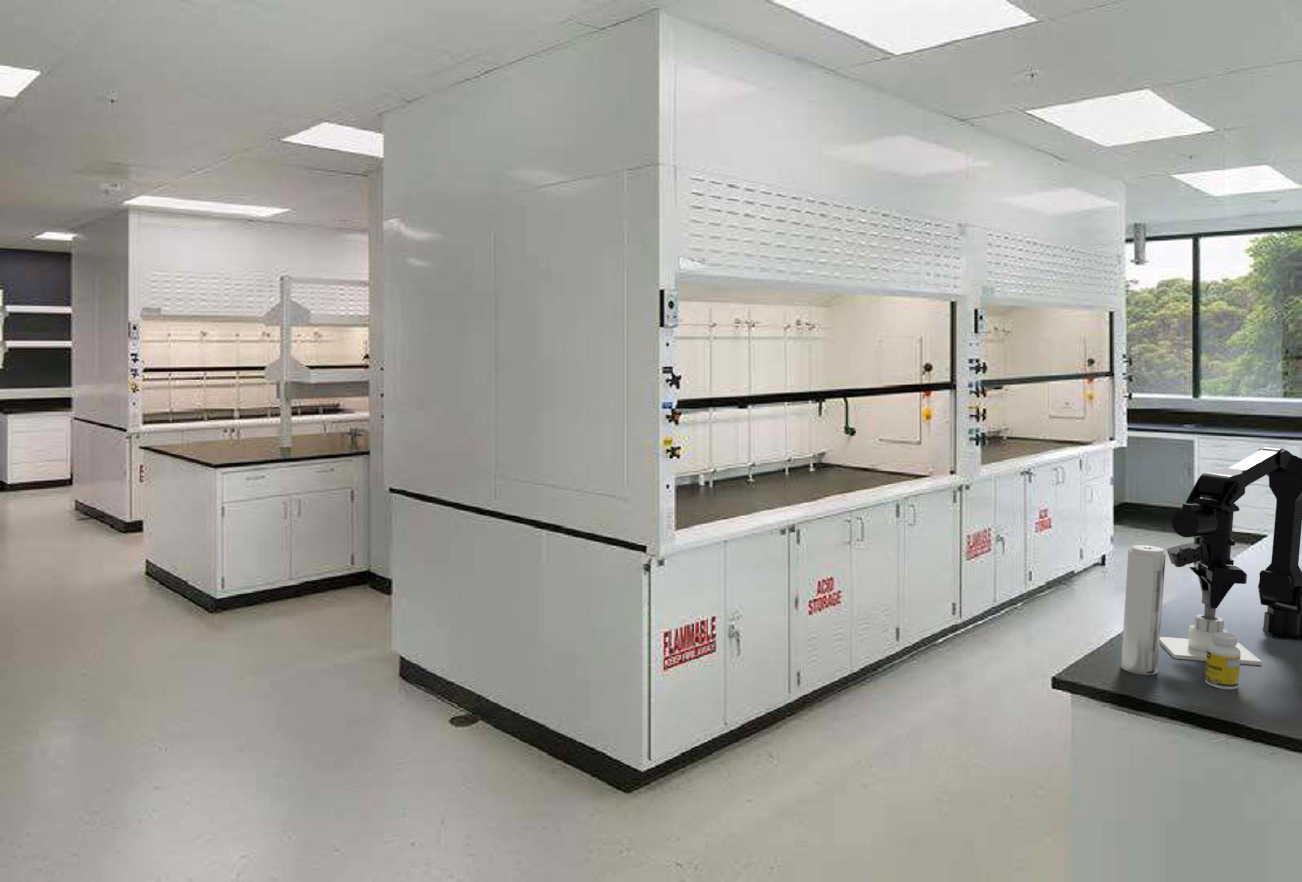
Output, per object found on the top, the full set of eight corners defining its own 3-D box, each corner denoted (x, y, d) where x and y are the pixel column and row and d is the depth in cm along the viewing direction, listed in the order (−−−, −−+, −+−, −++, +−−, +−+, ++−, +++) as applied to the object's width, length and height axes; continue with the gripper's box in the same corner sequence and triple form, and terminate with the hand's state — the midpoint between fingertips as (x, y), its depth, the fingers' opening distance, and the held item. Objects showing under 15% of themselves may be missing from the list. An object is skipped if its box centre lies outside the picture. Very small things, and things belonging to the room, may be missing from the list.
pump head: (1215, 617, 190) (1217, 590, 189) (1220, 621, 187) (1222, 594, 186) (1198, 615, 190) (1200, 589, 190) (1203, 620, 187) (1205, 593, 187)
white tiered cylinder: (1219, 644, 192) (1221, 614, 191) (1232, 655, 185) (1234, 624, 184) (1183, 641, 193) (1185, 611, 193) (1194, 652, 187) (1196, 621, 186)
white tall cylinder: (1154, 666, 181) (1162, 545, 178) (1160, 677, 175) (1169, 552, 172) (1118, 662, 183) (1125, 542, 180) (1123, 673, 177) (1131, 549, 174)
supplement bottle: (1198, 680, 173) (1201, 631, 172) (1224, 679, 174) (1228, 630, 173) (1218, 690, 168) (1221, 640, 167) (1245, 690, 169) (1249, 639, 168)
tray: (1238, 646, 193) (1238, 642, 193) (1261, 665, 182) (1261, 661, 182) (1156, 640, 197) (1156, 636, 197) (1174, 658, 185) (1174, 654, 185)
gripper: (1159, 522, 198) (1154, 591, 199) (1187, 540, 180) (1182, 615, 181) (1215, 525, 195) (1210, 594, 197) (1250, 543, 177) (1244, 620, 179)
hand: (1210, 605), depth 188 cm, fingers closed on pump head, 3 cm apart
